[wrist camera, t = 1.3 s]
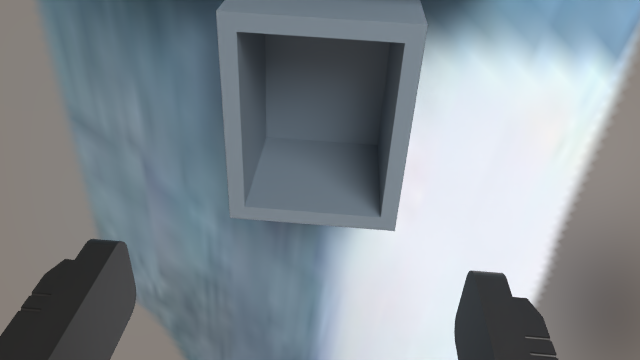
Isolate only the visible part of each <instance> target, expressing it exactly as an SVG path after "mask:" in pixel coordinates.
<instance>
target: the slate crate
mask: <svg viewBox="0 0 640 360" xmlns="http://www.w3.org/2000/svg"><path fill="white" fill-rule="evenodd" d="M216 18H217V33H218V48H219V63H220V78H221V93H222V107H223V122H224V137H225V152H226V167H227V181H228V196H229V211H230V218H239V219H251V220H264V221H276V222H289V223H301V224H314V225H327V226H339V227H352V228H364V229H377V230H389V231H395V225H396V219H397V213H398V207H399V201H400V194H401V188H402V182H403V176H404V170H405V164H406V157H407V151H408V145H409V139H410V133H411V126H412V120H413V114H414V108H415V102H416V95H417V89H418V83H419V77H420V71H421V65H422V58H423V52H424V46H425V40H426V34H427V27H428V24H427V20H426V17H425V14H424V11H423V8H422V4H421V1H420V0H224V2H223V3H222V4H221V5H220V7H219V8H218V9H217V10H216Z"/></svg>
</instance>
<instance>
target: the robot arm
mask: <svg viewBox="0 0 640 360" xmlns="http://www.w3.org/2000/svg"><path fill="white" fill-rule="evenodd" d="M135 300H136V286H135V281H134V276H133V272H132V267H131V262H130V258H129V253H128V248H127V245H126V244H125V242H122V241H111V240H98V239H91V240H89V241H88V242H87V243H86V244H85V246H84V247H83V248H82V250H81V251H80V253H79V254H78V256H77V257H76V259H75V260H69V259H64V260H63V261H62V262H60V263H59V264H58V265H57V266H55V267H54V268H52V269H51V270H50V271H48V272H47V273H46V274H45V275H44V276H43V277H42V279H41V280H40V282H39V283H38V284H37V286H36V287H35V289H34V290H33V291H32V295H31V296H29V297H28V299H27V300H26V301H25V303H24V304H23V305H22V307H21V311H18V312H17V314H16V315H15V317H14V318H13V319H12V321H11V322H10V323H9V325H8V326H7V328H6V329H5V330H4V332H3V333H2V334H1V336H0V360H110V358H111V356H112V354H113V352H114V350H115V348H116V346H117V344H118V342H119V340H120V338H121V336H122V333H123V331H124V329H125V327H126V325H127V323H128V321H129V319H130V317H131V314H132V312H133V309H134V306H135ZM455 344H456V349H457V355H458V360H558V359H557V358H556V352H555V349H554V346H553V344H552V342H551V341H550V336H549V333H548V330H547V327H546V325H545V322H544V319H543V317H542V316H541V314H540V313H539V312H538V311H537V310H536V309H535V307H534V306H533V305H532V304H531V303H530V301H529V300H528V299H527V298H517V297H512V294H511V291H510V288H509V285H508V282H507V279H506V276H505V275H504V274H503V273H494V272H481V271H469V273H468V275H467V277H466V281H465V285H464V288H463V292H462V296H461V299H460V303H459V306H458V310H457V314H456V319H455Z"/></svg>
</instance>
